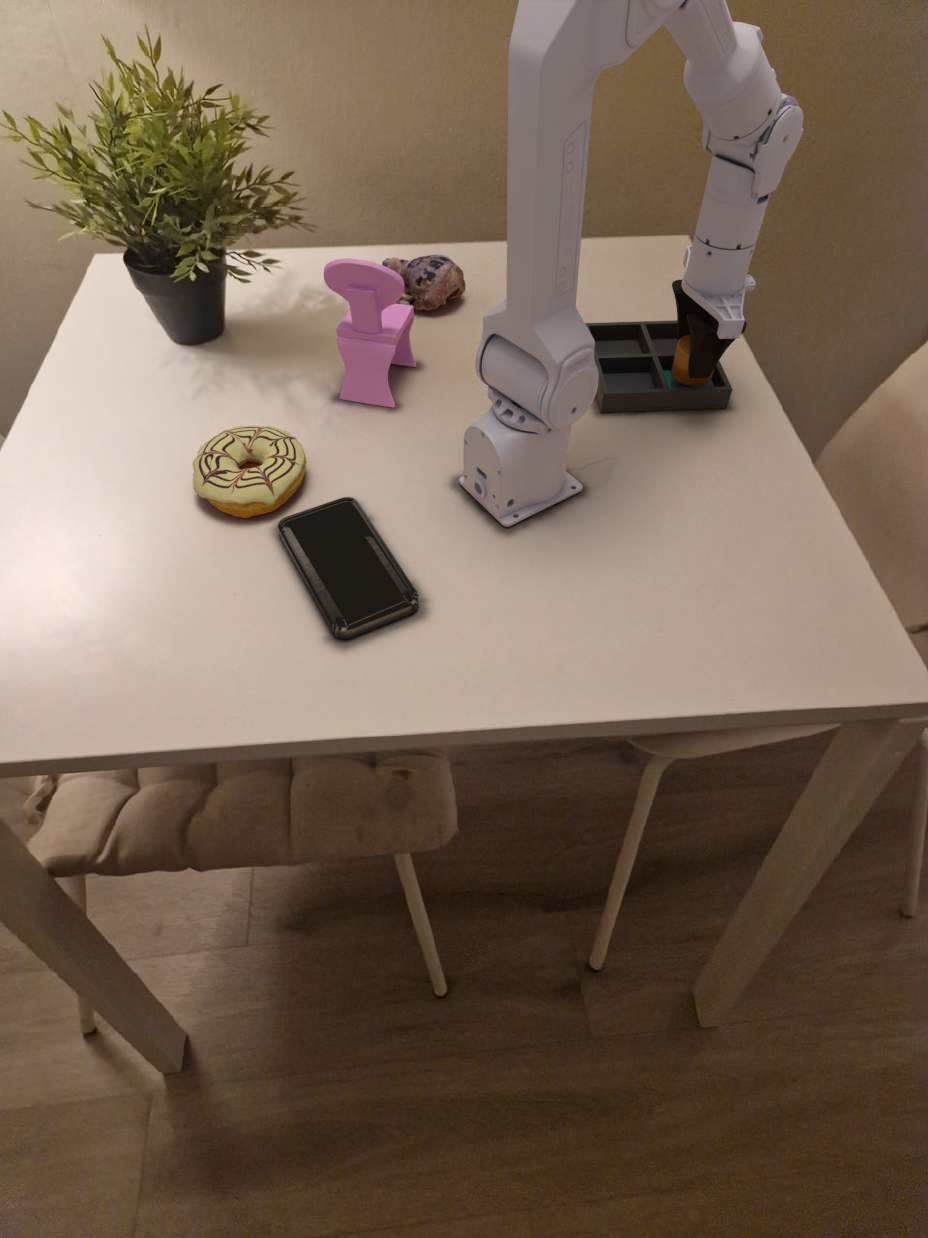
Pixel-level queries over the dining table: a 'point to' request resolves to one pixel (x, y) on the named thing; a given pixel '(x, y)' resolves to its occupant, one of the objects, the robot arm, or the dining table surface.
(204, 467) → the decorated donut
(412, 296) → the toy tortoise
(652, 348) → the grid
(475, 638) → the dining table surface
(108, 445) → the dining table surface
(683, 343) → the orange cylinder
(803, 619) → the dining table surface
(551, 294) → the robot arm
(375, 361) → the toy chair
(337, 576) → the phone
